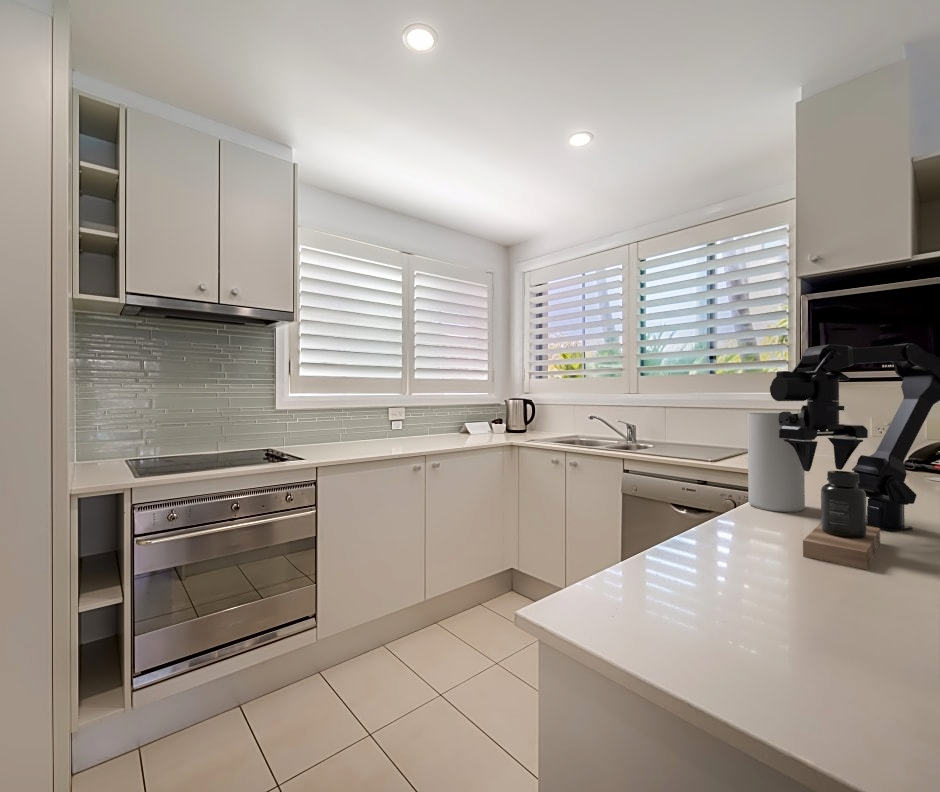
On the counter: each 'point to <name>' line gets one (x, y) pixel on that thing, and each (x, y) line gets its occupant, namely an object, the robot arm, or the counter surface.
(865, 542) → the walnut ledge
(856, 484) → the supplement bottle
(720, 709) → the counter surface
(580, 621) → the counter surface
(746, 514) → the counter surface
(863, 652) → the counter surface
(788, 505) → the cylinder vase
